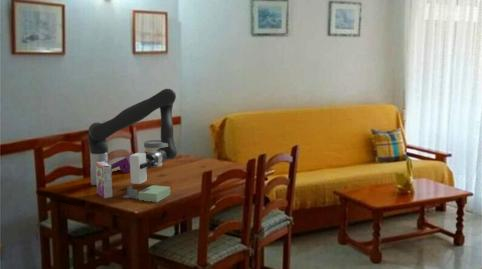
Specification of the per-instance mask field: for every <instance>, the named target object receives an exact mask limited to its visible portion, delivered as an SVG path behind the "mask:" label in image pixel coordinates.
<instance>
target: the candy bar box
mask: <svg viewBox="0 0 482 269" xmlns="http://www.w3.org/2000/svg"><path fill="white" fill-rule="evenodd" d="M111 165H112V164H109V163H108V164H107V163H106V162H96V163H95V166H96V183H97V185H96V194H97V195H99V196H100V197H101V198H103V199H111V198H113V197H114V194H113V174H112V171H113V170H112V168H111Z"/></svg>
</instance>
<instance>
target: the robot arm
mask: <svg viewBox="0 0 482 269" xmlns="http://www.w3.org/2000/svg"><path fill="white" fill-rule="evenodd" d="M176 98H177V96H176V92H175V91H174V89H171V88H164V89H162V90H160V91H159V92H157V93H156V94H154V95H152V96H151V97H149V98H147V99H144V100H142V101H140V102H138V103H136V104H133V105H131V106H129V107H127V108H125V109H123V110H122V111H120V112H119V113H117V115H115V117H113V118H112V119H109V120H107V121H104V122H102V123H101V122H93V123H91V125H89V127H88V131H87V132H88V133H87V134H88V144H89V145H88V147H89V151H90V152H89V153H90V155H89V156H90V184H91V186H92V185H93V186H97V183H96V166H95V163H96V162H106V163H107V164H109V148H108V144H107V138H109V137H110V136H112V135H113V134H115V133H116V132H117V133H118V132H119V131H121V130H123V129H125V128H128V127H130V126H132V125H134V124H136V123H138V122H140V121H142V120H144V119H145V118H147V117H148V116H150V115H151V114H152V113H154V112H155V111H156V110H158V109H159V112H160V140H161V142H163V143H164V144H167V146H164V147H162V148H159V149H158V150H157V151H154V152H151V153H148V154H146V162H145V163H143V164H141V165H140V169H143V168H146V169H152V168H155V167H154V166H157V165H158V164H160V163H162V164H163V163H164V162H165V161H167V160H174V159H175V158H176V157H177V154H178V150H177V146H176V144H175V143H176V142H175V139H174V123H173V114H172V113H173V105H174V103H175V101H176Z"/></svg>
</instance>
